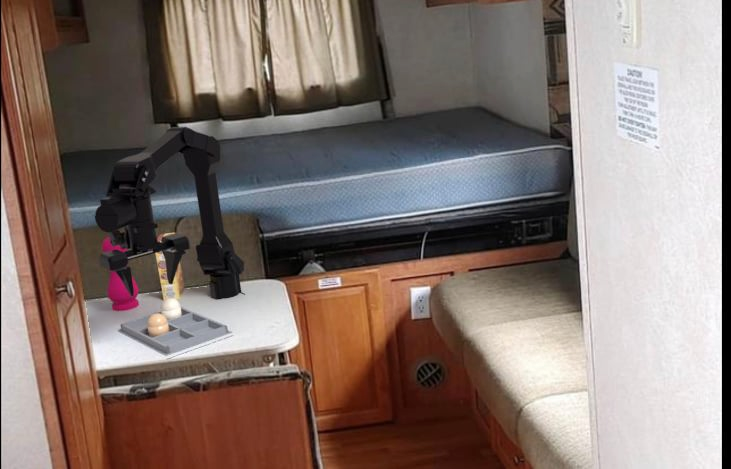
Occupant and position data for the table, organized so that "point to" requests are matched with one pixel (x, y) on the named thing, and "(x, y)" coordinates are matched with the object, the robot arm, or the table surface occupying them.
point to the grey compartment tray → (176, 332)
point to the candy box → (167, 289)
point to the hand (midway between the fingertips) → (151, 289)
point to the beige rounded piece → (157, 325)
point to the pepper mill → (119, 285)
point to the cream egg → (171, 308)
